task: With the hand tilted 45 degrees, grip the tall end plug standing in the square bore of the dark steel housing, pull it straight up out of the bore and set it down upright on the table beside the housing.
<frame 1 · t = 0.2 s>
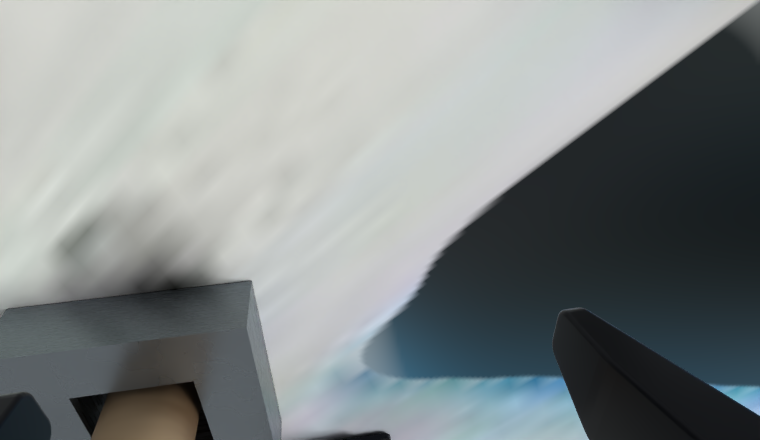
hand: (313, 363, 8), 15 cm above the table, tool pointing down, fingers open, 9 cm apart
housing: (163, 373, 28), on the table
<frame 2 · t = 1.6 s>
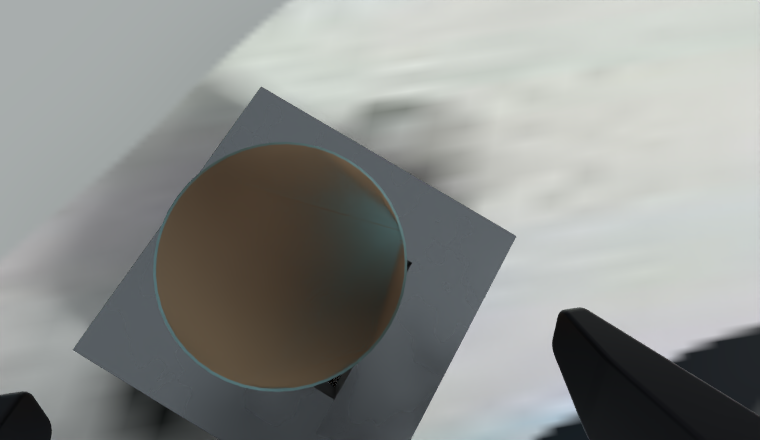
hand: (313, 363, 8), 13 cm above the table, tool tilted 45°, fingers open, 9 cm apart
end plug: (303, 284, 16), in the housing
housing: (312, 294, 22), on the table
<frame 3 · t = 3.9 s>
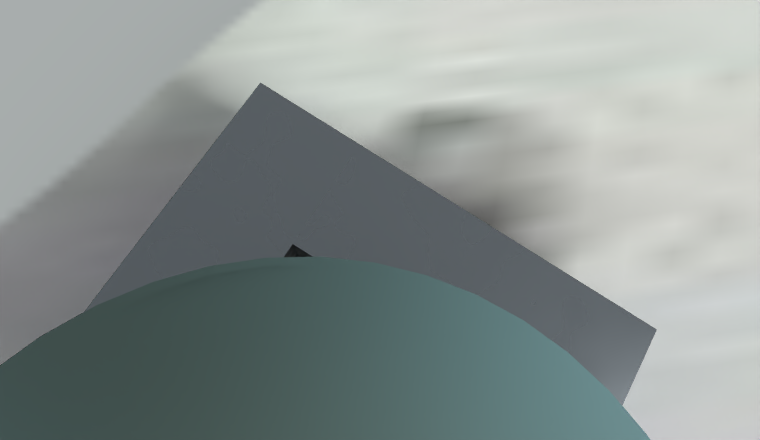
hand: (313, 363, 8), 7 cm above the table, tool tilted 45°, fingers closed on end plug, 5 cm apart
housing: (329, 394, 14), on the table
when the fingers open (8 cm above the table, at t = 10.0 s): end plug drops 1 cm, on the table.
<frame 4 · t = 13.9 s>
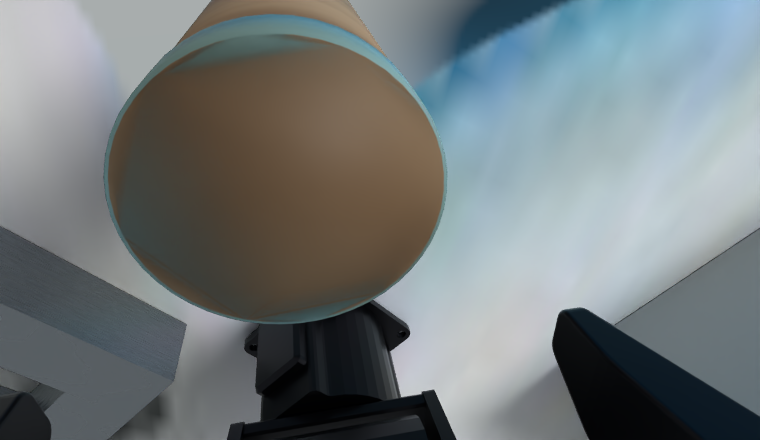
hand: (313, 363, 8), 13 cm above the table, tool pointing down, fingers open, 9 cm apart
end plug: (286, 79, 12), on the table
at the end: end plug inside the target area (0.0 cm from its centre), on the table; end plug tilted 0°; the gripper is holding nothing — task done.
